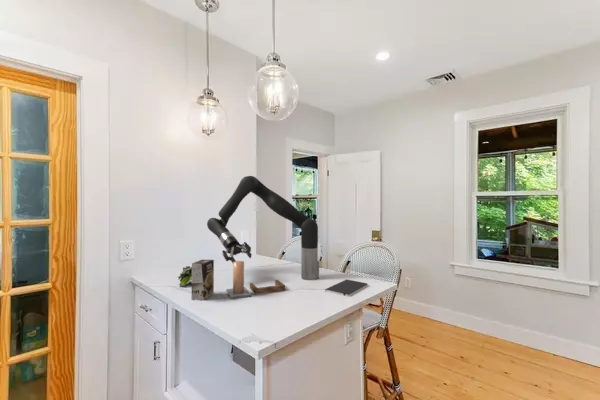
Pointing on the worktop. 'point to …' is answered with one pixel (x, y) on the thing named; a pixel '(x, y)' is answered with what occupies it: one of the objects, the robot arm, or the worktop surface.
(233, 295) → the slate pad
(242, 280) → the canister
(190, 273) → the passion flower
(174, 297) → the worktop surface
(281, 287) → the wooden u-shaped frame
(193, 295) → the coffee box
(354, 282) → the notebook
